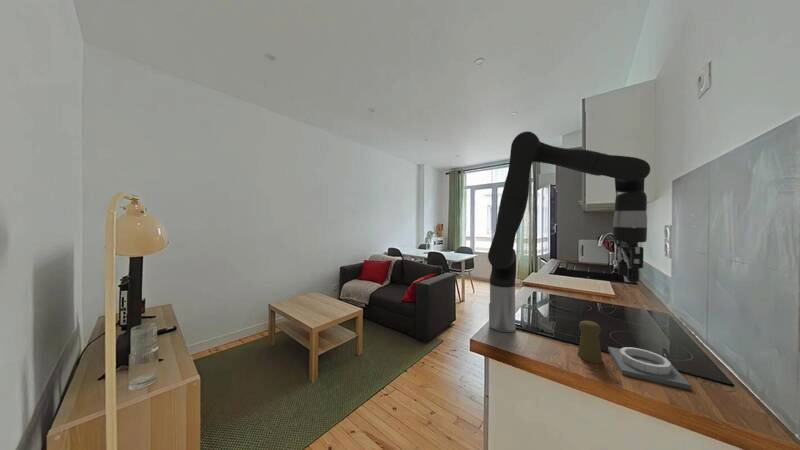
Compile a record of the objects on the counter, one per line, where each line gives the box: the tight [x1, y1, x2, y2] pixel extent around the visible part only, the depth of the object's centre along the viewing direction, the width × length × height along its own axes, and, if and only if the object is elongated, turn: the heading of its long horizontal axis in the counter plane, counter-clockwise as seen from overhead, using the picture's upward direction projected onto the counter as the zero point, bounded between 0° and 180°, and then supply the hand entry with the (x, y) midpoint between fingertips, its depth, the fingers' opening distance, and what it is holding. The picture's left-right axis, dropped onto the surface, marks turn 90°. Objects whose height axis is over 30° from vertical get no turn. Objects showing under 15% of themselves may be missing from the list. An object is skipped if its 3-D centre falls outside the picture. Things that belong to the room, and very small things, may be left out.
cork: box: [577, 320, 603, 364], centre depth 74 cm, size 6×6×11 cm
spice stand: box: [607, 346, 692, 391], centre depth 69 cm, size 13×14×3 cm
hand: (627, 278), depth 74 cm, fingers open, 8 cm apart
